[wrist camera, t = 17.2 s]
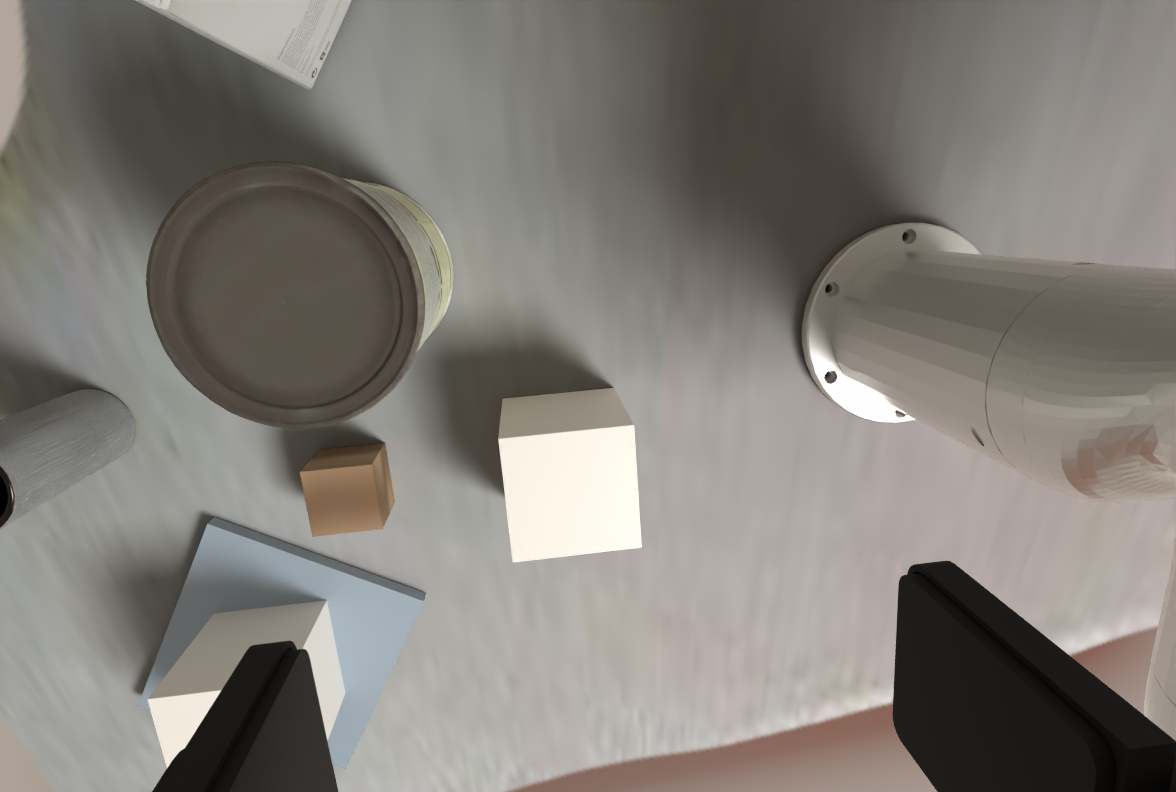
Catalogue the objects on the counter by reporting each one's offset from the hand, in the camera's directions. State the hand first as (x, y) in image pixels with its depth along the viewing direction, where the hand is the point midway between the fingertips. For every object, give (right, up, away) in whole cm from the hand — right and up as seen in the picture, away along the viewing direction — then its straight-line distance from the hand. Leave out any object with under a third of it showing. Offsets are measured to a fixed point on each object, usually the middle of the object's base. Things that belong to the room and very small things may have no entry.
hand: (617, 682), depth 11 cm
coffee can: (-13, +12, +29) cm, 34 cm away
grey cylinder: (-30, +3, +30) cm, 42 cm away
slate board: (-21, -12, +35) cm, 42 cm away
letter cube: (-15, -1, +32) cm, 36 cm away
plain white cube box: (-2, +1, +33) cm, 33 cm away
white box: (-20, -12, +34) cm, 41 cm away
